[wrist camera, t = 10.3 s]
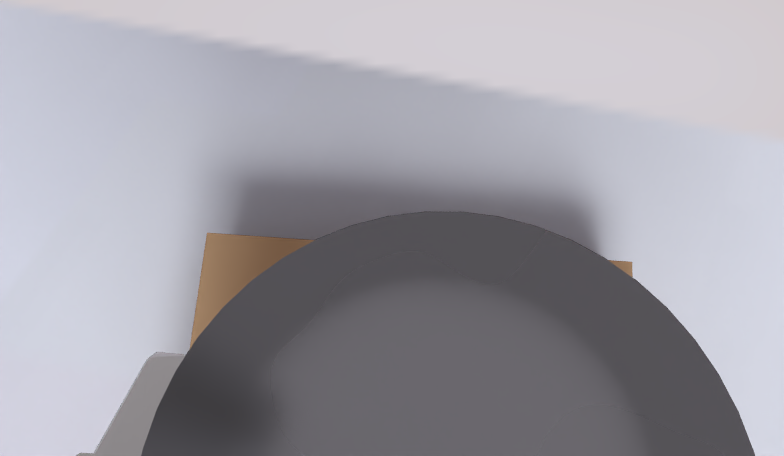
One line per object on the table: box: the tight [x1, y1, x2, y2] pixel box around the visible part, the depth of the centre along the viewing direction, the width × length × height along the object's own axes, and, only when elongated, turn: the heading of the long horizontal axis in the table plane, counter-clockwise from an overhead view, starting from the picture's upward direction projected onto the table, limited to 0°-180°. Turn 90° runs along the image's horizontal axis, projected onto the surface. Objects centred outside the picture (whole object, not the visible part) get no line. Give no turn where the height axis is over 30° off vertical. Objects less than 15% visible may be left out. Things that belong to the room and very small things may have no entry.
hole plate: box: [190, 233, 632, 348], centre depth 23 cm, size 14×12×3 cm
